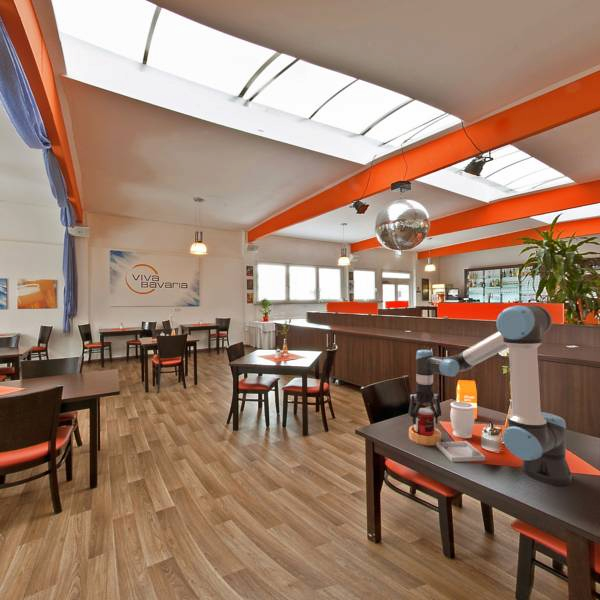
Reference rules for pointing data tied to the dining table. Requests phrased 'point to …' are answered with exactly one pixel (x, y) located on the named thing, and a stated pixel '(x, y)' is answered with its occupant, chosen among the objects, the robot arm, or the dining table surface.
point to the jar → (462, 419)
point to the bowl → (424, 437)
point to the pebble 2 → (475, 453)
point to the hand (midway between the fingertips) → (424, 430)
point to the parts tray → (460, 451)
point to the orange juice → (467, 393)
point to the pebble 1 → (444, 445)
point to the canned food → (425, 422)
